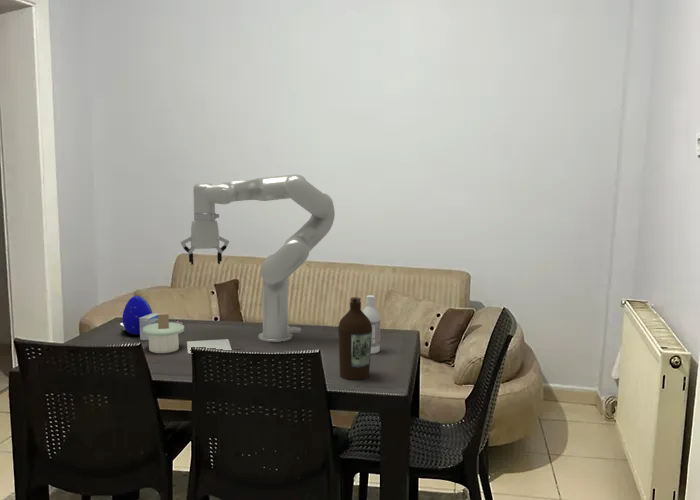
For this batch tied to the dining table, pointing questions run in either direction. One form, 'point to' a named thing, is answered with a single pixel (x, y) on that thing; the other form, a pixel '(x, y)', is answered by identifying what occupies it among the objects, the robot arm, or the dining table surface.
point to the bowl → (163, 343)
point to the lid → (163, 326)
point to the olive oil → (354, 342)
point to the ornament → (135, 314)
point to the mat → (210, 344)
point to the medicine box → (146, 321)
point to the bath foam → (373, 323)
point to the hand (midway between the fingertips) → (205, 263)
